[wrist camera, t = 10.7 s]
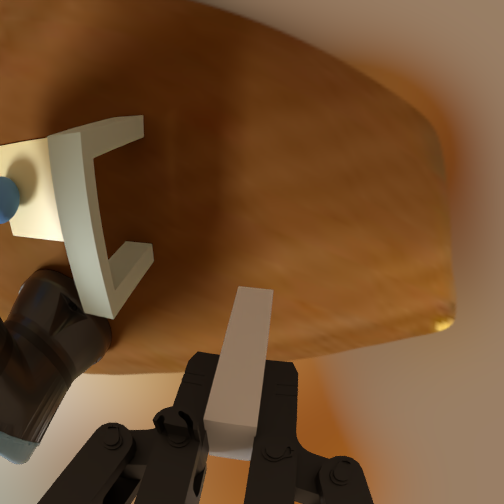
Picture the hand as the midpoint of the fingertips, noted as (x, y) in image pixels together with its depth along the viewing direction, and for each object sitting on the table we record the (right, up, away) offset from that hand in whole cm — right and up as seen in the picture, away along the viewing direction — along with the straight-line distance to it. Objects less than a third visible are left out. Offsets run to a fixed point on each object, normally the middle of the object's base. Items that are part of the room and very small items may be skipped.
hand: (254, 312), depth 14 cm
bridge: (-11, +8, +14) cm, 19 cm away
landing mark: (-25, +10, +15) cm, 31 cm away
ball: (-29, +9, +13) cm, 33 cm away
